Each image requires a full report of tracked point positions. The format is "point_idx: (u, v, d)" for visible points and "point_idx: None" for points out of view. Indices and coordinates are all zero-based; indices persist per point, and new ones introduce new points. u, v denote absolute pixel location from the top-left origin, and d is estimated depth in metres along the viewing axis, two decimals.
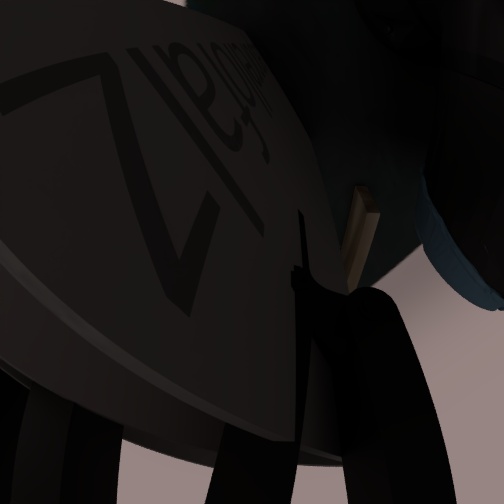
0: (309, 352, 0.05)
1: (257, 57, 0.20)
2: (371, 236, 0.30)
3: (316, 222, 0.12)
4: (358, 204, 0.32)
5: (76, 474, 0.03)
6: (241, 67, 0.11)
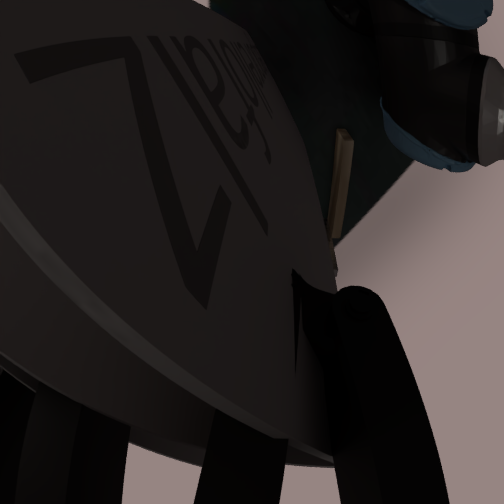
0: (296, 350, 0.05)
1: (258, 58, 0.20)
2: (350, 160, 0.40)
3: (310, 225, 0.12)
4: (339, 139, 0.41)
5: (83, 477, 0.03)
6: (245, 67, 0.11)
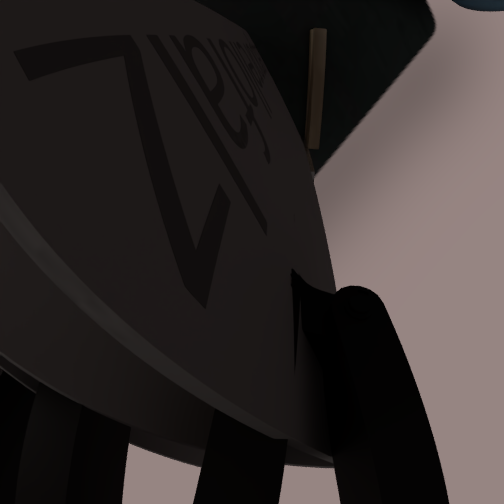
0: (295, 350, 0.05)
1: (258, 58, 0.20)
2: (324, 49, 0.29)
3: (309, 225, 0.12)
4: (311, 36, 0.31)
5: (83, 478, 0.03)
6: (245, 66, 0.11)
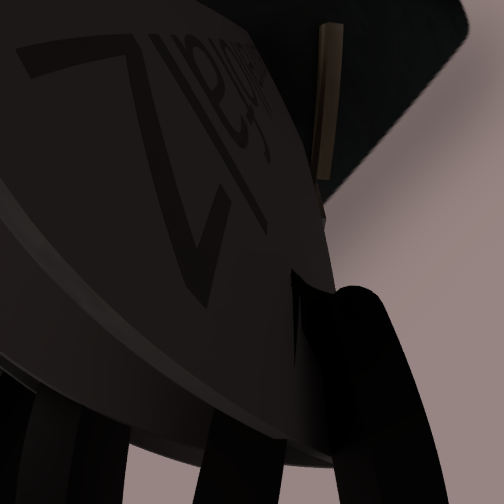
0: (294, 350, 0.05)
1: (258, 58, 0.20)
2: (339, 51, 0.22)
3: (309, 225, 0.12)
4: (322, 33, 0.23)
5: (84, 477, 0.03)
6: (245, 66, 0.11)
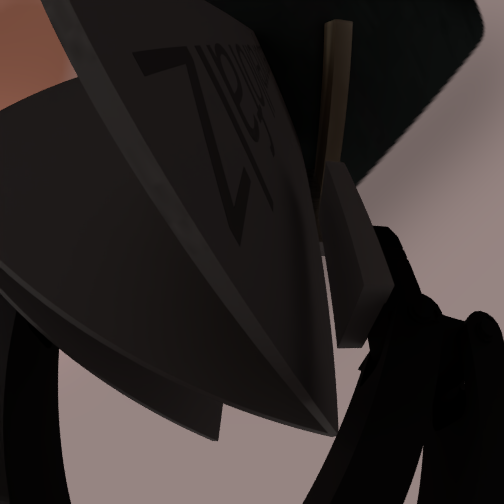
0: (432, 384, 0.04)
1: (263, 58, 0.21)
2: (348, 52, 0.19)
3: (303, 214, 0.13)
4: (328, 31, 0.20)
5: (18, 452, 0.03)
6: (254, 69, 0.12)
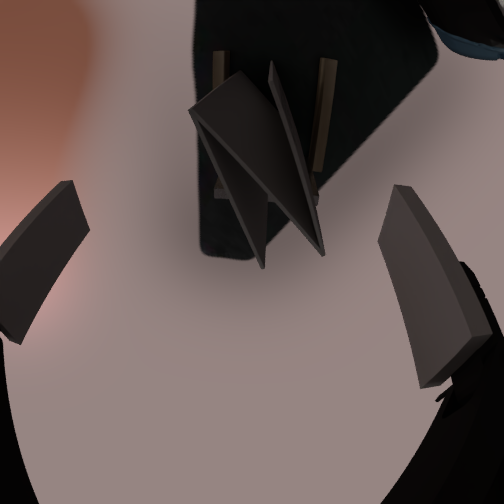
0: None
1: (280, 82, 0.35)
2: (333, 80, 0.34)
3: (304, 165, 0.27)
4: (322, 64, 0.35)
5: None
6: (283, 95, 0.26)
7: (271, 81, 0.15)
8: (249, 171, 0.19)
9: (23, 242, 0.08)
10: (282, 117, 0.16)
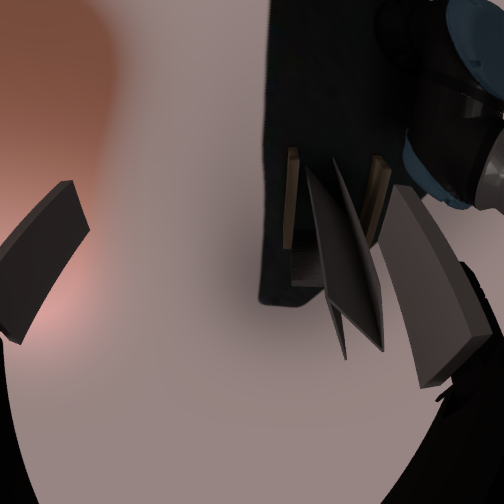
0: None
1: None
2: (386, 186, 0.44)
3: None
4: (376, 166, 0.45)
5: None
6: None
7: (379, 285, 0.25)
8: (353, 323, 0.30)
9: (23, 242, 0.08)
10: (379, 300, 0.27)
